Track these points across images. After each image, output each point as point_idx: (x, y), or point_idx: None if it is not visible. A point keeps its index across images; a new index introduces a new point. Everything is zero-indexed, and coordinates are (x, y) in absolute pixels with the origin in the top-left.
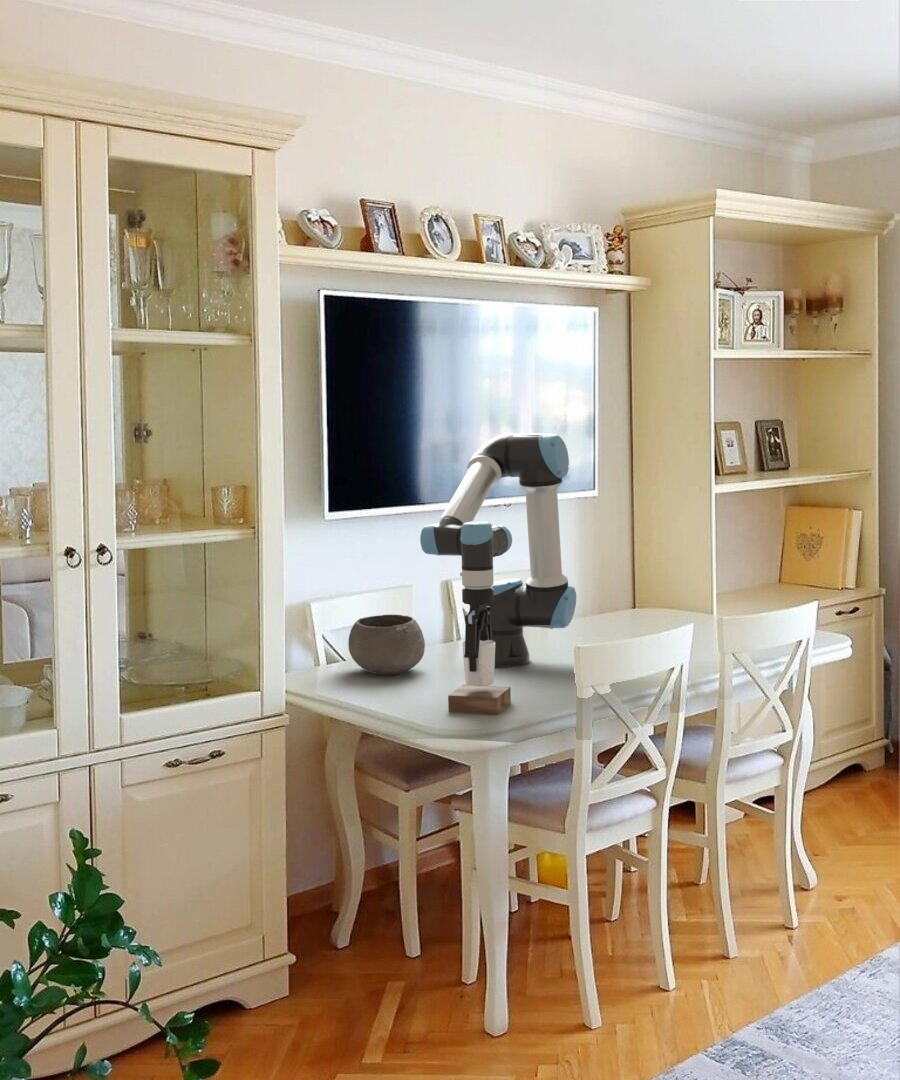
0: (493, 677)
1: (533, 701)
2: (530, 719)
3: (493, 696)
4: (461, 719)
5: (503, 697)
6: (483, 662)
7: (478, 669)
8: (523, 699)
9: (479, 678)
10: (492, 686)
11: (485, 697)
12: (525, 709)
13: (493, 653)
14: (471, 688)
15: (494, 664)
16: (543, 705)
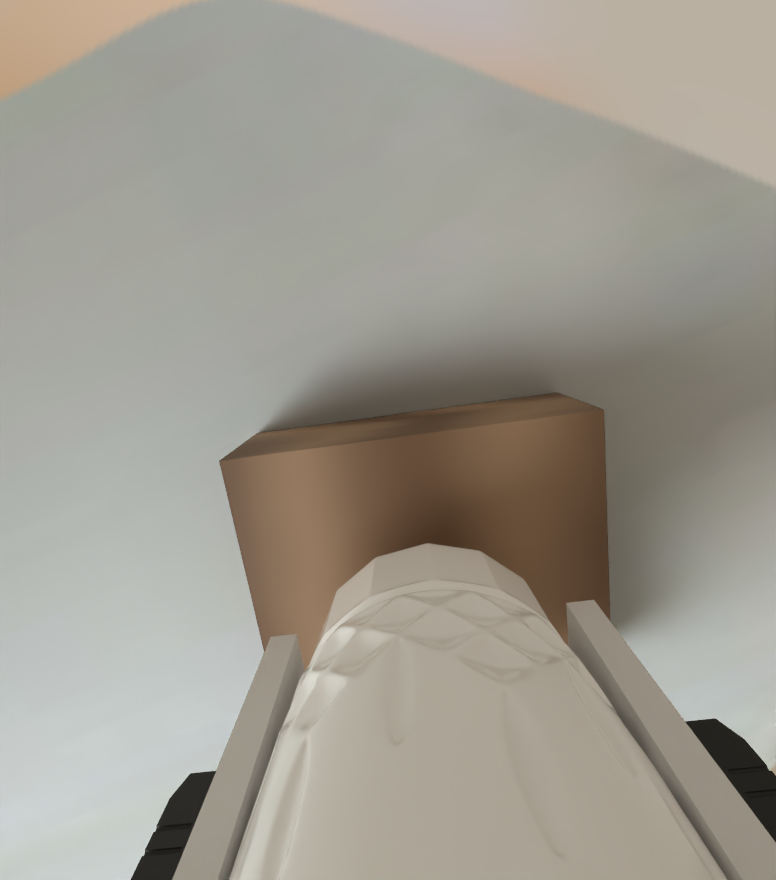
0: (392, 573)
1: (159, 315)
2: (603, 135)
3: (557, 453)
4: (705, 534)
5: (414, 426)
6: (645, 760)
7: (680, 719)
8: (144, 395)
9: (614, 638)
10: (268, 581)
11: (604, 494)
12: (368, 280)
13: (504, 800)
14: None
15: (395, 649)
16: (224, 206)
